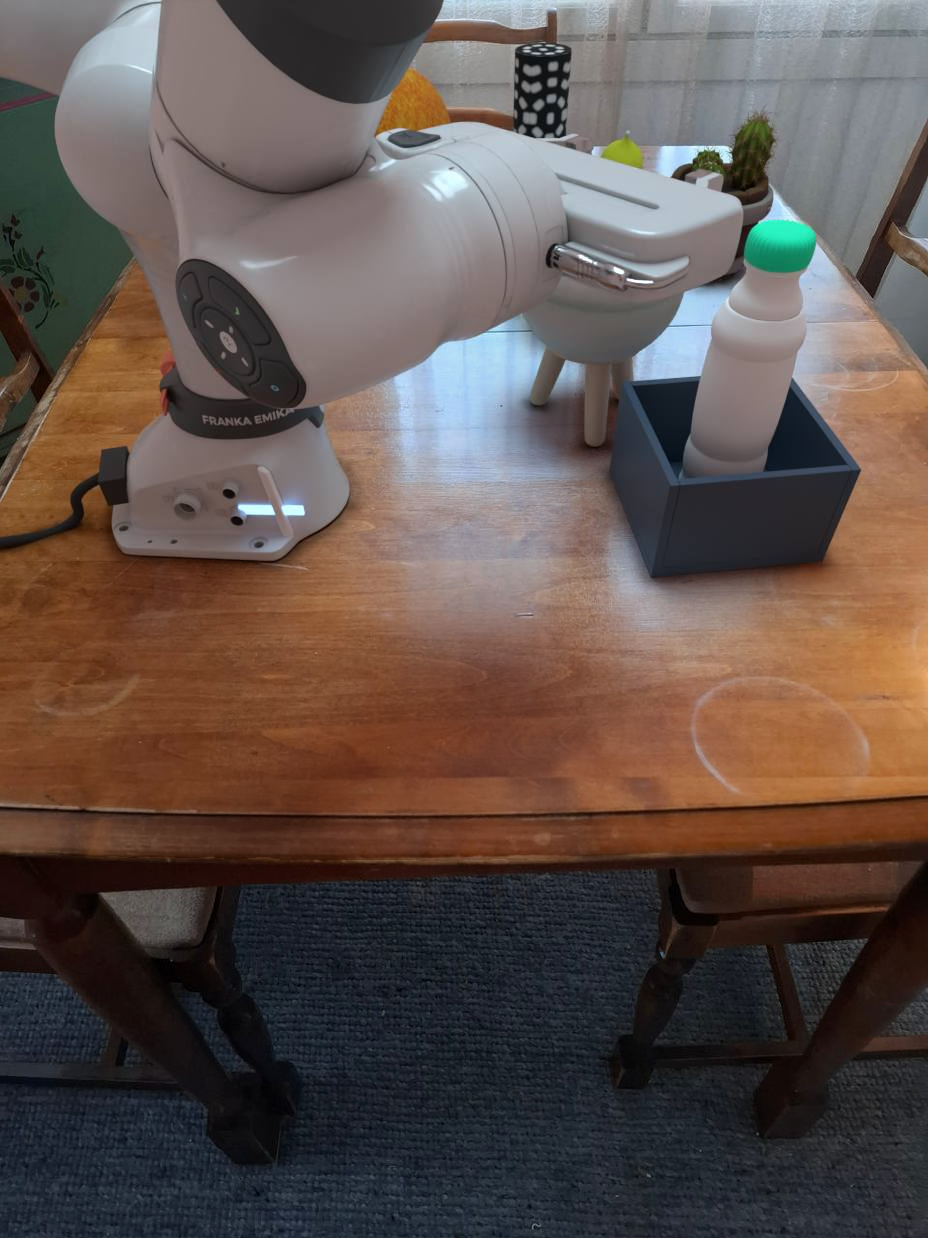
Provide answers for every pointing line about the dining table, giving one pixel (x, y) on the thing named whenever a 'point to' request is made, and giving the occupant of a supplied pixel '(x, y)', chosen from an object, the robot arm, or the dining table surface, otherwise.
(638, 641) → the dining table surface
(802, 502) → the bin
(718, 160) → the flowerpot
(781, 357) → the water bottle
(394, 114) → the decorative sphere
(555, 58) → the white-spotted black cylinder
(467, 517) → the dining table surface
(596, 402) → the planter
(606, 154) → the yellow-green rounded piece
